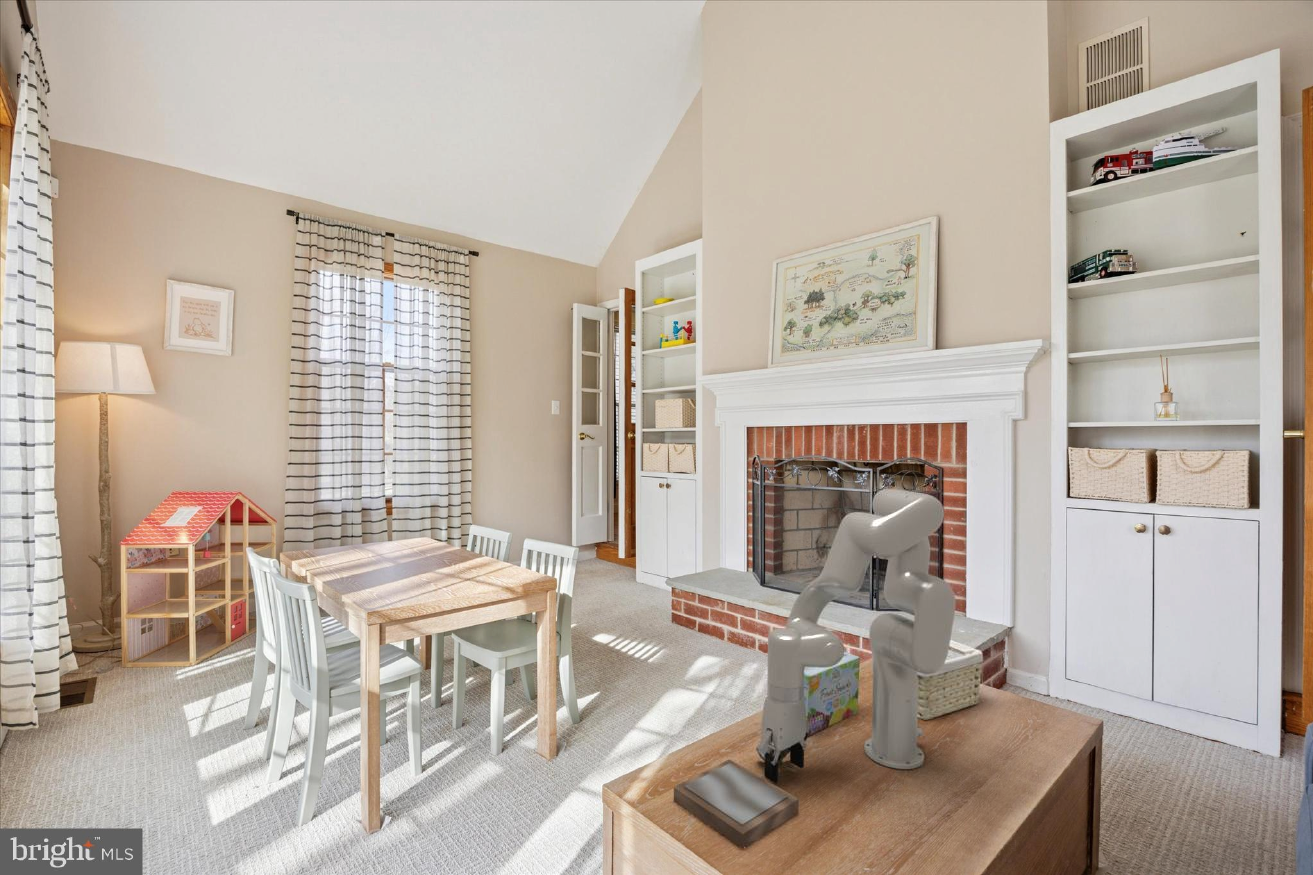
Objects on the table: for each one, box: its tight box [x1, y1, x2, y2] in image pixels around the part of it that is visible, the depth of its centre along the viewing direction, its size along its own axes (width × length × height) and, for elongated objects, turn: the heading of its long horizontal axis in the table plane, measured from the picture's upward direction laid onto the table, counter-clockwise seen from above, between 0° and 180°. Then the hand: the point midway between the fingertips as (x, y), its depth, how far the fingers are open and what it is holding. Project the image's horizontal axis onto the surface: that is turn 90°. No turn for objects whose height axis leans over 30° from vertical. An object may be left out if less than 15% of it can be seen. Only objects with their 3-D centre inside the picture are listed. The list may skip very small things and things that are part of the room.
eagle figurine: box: [755, 744, 798, 773], centre depth 132 cm, size 8×7×9 cm
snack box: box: [804, 651, 861, 737], centre depth 155 cm, size 21×6×15 cm, turn 129°
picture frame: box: [673, 758, 800, 850], centre depth 120 cm, size 16×18×3 cm
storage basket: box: [917, 639, 984, 721], centre depth 166 cm, size 24×16×15 cm
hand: (784, 772), depth 129 cm, fingers closed on eagle figurine, 8 cm apart
